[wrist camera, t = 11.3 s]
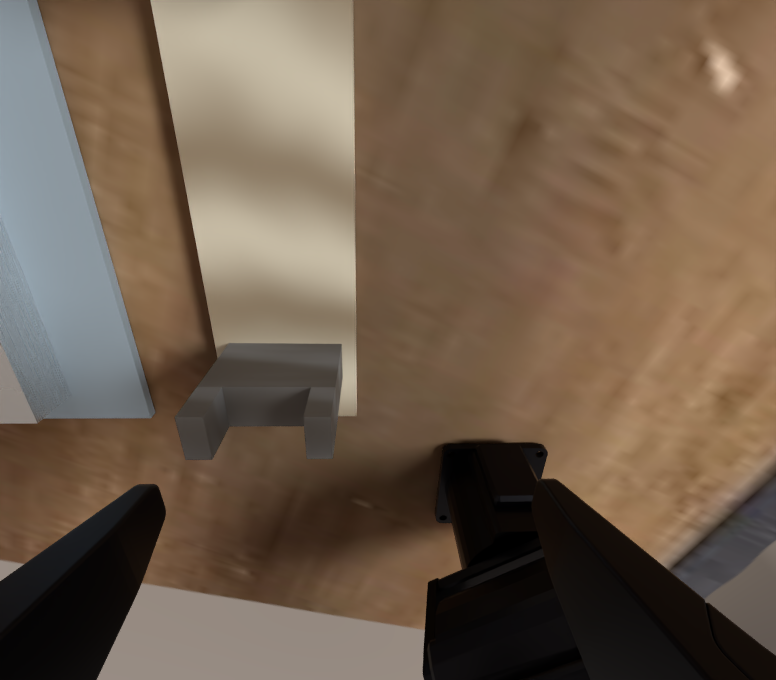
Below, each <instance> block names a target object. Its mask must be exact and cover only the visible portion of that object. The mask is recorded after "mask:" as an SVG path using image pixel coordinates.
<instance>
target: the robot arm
mask: <svg viewBox="0 0 776 680" xmlns="http://www.w3.org/2000/svg"><path fill="white" fill-rule="evenodd" d="M539 451H540V452H539ZM449 452H453V453H451V454H448V453H449ZM537 452H539V453H537ZM547 455H548V452H547V450H546V448H545V447H544V445H542V444H449V445H446V446H445V447H444V448H443V450H442V456H441V465H440V474H439V482H438V491H437V500H436V508H435V516H436V520H437V522H439V523H452V526H453V530H454V535H455V540H456V544H457V549H458V553H459V558H460V563H461V567H462V570H460V571H457V572H455V573H453V574H450V575H448V576H446V577H444V578H441V579H438V578H436V579H434V580H432V581H429V582H428V591H427V606H426V622H425V638H424V653H423V654H424V655H423V657H424V658H423V677H424V680H776V655H774V654H773V653H772V652H770V651H769V650H768V649H766V648H765V647H764V646H762V645H761V644H759V643H758V642H757V641H756V640H755V639H753V638H752V637H751V636H749V635H748V634H747V633H746V632H744V631H743V630H742V629H741V628H739V627H738V626H737V625H736V624H734V623H733V622H732V621H731V620H729V619H728V618H727V617H726V616H724V615H723V614H722V613H721V612H719V611H718V610H717V609H716V608H715V607H713V606H712V605H711V604H710V603H706V602H705V600H704V599H703V598H702V597H701V596H700V595H698V594H697V593H696V592H695V591H693V590H692V589H691V588H690V587H689V586H687V585H686V584H685V583H684V582H682V581H681V580H680V579H679V578H677V577H676V576H675V575H674V574H673V573H671V572H670V571H669V570H668V569H666V568H665V567H664V566H663V565H661V564H660V563H659V562H658V561H657V560H655V559H654V558H653V557H652V556H650V555H649V554H648V553H647V552H645V551H644V550H643V549H642V548H641V547H639V546H638V545H637V544H636V543H634V542H633V541H632V540H631V539H629V538H628V537H627V536H626V535H625V534H623V533H622V532H621V531H620V530H618V529H617V528H616V527H615V526H613V525H612V524H611V523H610V522H609V521H607V520H606V519H605V518H604V517H602V516H601V515H600V514H599V513H597V512H596V511H595V510H594V509H593V508H591V507H590V506H589V505H588V504H586V503H585V502H584V501H583V500H581V499H580V498H579V497H578V496H577V495H575V494H574V493H573V492H572V491H570V490H569V489H568V488H567V487H565V486H564V485H563V484H562V483H561V482H559V481H558V480H556V479H541V477H542V473H543V469H544V466H545V462H546V458H547ZM165 515H166V509H165V505H164V502H163V499H162V496H161V493H160V490H159V487H158V486H157V485H155V484H139V485H136V486H134V487H133V488H131V489H130V490H129V491H127V492H126V493H124V494H123V495H122V496H120V497H119V498H117V499H116V500H114V501H113V502H112V503H110V504H109V505H107V506H106V507H105V508H103V509H102V510H100V511H99V512H97V513H96V514H95V515H93V516H92V517H90V518H89V519H88V520H86V521H85V522H83V523H82V524H81V525H79V526H78V527H76V528H75V529H73V530H72V531H71V532H69V533H68V534H66V535H65V536H64V537H62V538H61V539H59V540H58V541H57V542H55V543H54V544H52V545H51V546H49V547H48V548H47V549H45V550H44V551H42V552H41V553H40V554H38V555H37V556H35V557H34V558H33V559H31V560H30V561H28V562H27V563H25V564H24V565H23V566H21V567H20V568H18V569H17V570H16V571H14V572H13V573H11V574H10V575H9V576H7V577H6V578H4V579H3V580H2V581H0V680H97V678H98V676H99V673H100V671H101V669H102V667H103V665H104V663H105V661H106V659H107V656H108V654H109V652H110V650H111V648H112V646H113V644H114V642H115V640H116V637H117V635H118V633H119V631H120V629H121V627H122V625H123V623H124V621H125V618H126V616H127V614H128V612H129V610H130V608H131V606H132V604H133V601H134V599H135V597H136V595H137V593H138V590H139V588H140V585H141V583H142V581H143V578H144V575H145V573H146V570H147V567H148V564H149V562H150V559H151V556H152V553H153V550H154V548H155V545H156V542H157V539H158V537H159V534H160V531H161V528H162V525H163V523H164V520H165Z"/></svg>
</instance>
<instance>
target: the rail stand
mask: <svg viewBox="0 0 776 680" xmlns="http://www.w3.org/2000/svg"><path fill="white" fill-rule="evenodd" d="M151 6H152V11H153V16H154V22H155V27H156V33H157V38H158V43H159V49H160V54H161V59H162V65H163V70H164V75H165V81H166V86H167V91H168V97H169V102H170V107H171V113H172V118H173V123H174V129H175V134H176V139H177V145H178V150H179V155H180V161H181V166H182V171H183V177H184V182H185V187H186V193H187V198H188V203H189V209H190V214H191V219H192V225H193V230H194V235H195V241H196V246H197V251H198V257H199V262H200V267H201V273H202V278H203V283H204V289H205V294H206V299H207V305H208V310H209V315H210V321H211V326H212V331H213V337H214V342H215V347H216V353H217V358H218V359H217V360H216V361H215V363H214V364H213V366H212V367H211V368H210V370H209V371H208V372H207V374H206V375H205V377H204V378H203V379H202V381H201V382H200V383H199V385H198V386H197V387H196V389H195V390H194V392H193V393H192V394H191V396H190V397H189V398H188V400H187V401H186V403H185V404H184V405H183V407H182V408H181V409H180V411H179V412H178V413H177V415H176V416H175V421H176V425H177V429H178V432H179V436H180V440H181V444H182V448H183V451H184V455H185V459H186V460H212V459H213V457H214V455H215V453H216V451H217V449H218V448H219V446H220V444H221V442H222V440H223V438H224V436H225V434H226V432H227V430H228V428H229V426H304V430H305V442H306V454H307V459H333V453H334V444H335V436H336V428H337V420H338V416H356V413H357V361H356V244H355V128H354V12H353V0H151Z"/></svg>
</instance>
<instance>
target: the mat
mask: <svg viewBox="0 0 776 680" xmlns="http://www.w3.org/2000/svg"><path fill="white" fill-rule="evenodd" d="M0 214H1V217H2V219H3V222H4V224H5V227H6V230H7V232H8V235H9V237H10V240H11V242H12V245H13V247H14V250H15V252H16V255H17V258H18V260H19V263H20V265H21V268H22V270H23V273H24V275H25V278H26V280H27V283H28V285H29V288H30V291H31V293H32V296H33V298H34V301H35V303H36V306H37V308H38V311H39V313H40V316H41V318H42V321H43V324H44V326H45V329H46V331H47V334H48V336H49V339H50V341H51V344H52V346H53V349H54V351H55V354H56V357H57V359H58V362H59V364H60V367H61V369H62V372H63V374H64V377H65V379H66V382H67V384H68V387H69V390H70V392H71V396H70V397H69V398H68V399H67V400H65V401H64V402H63V403H62V404H60V405H59V406H58V407H57V408H56V409H54V410H53V411H52V412H51V413H50V414H48V415H47V416H46V417H45V418H152V416H153V415H154V414H155V410H154V406H153V403H152V399H151V396H150V393H149V389H148V386H147V382H146V379H145V375H144V372H143V368H142V365H141V361H140V358H139V354H138V351H137V347H136V344H135V340H134V337H133V333H132V330H131V326H130V323H129V320H128V316H127V313H126V309H125V306H124V302H123V299H122V295H121V292H120V288H119V285H118V281H117V278H116V274H115V271H114V267H113V264H112V260H111V257H110V253H109V250H108V246H107V243H106V240H105V236H104V233H103V229H102V226H101V222H100V219H99V215H98V212H97V208H96V205H95V201H94V198H93V194H92V191H91V187H90V184H89V180H88V177H87V173H86V170H85V167H84V163H83V160H82V156H81V153H80V149H79V146H78V142H77V139H76V135H75V132H74V128H73V125H72V121H71V118H70V114H69V111H68V107H67V104H66V100H65V97H64V94H63V90H62V87H61V83H60V80H59V76H58V73H57V69H56V66H55V62H54V59H53V55H52V52H51V48H50V45H49V41H48V38H47V34H46V31H45V27H44V24H43V20H42V17H41V14H40V10H39V7H38V3H37V0H0Z"/></svg>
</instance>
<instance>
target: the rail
mask: <svg viewBox="0 0 776 680" xmlns="http://www.w3.org/2000/svg"><path fill="white" fill-rule="evenodd" d="M70 396H71V392H70V390H69V387H68V384H67V382H66V379H65V377H64V374H63V372H62V369H61V367H60V364H59V362H58V359H57V357H56V354H55V351H54V349H53V346H52V344H51V341H50V339H49V336H48V334H47V331H46V329H45V326H44V324H43V321H42V318H41V316H40V313H39V311H38V308H37V306H36V303H35V301H34V298H33V296H32V293H31V291H30V288H29V285H28V283H27V280H26V278H25V275H24V273H23V270H22V268H21V265H20V263H19V260H18V258H17V255H16V252H15V250H14V247H13V245H12V242H11V240H10V237H9V235H8V232H7V230H6V227H5V224H4V222H3V219H2V217H1V214H0V424H10V423H39V422H40V421H41V420H42V419H43V418H45V417H46V416H47V415H48V414H50V413H51V412H52V411H53V410H54V409H56V408H57V407H58V406H59V405H60V404H62V403H63V402H64V401H65V400H67V399H68V398H69V397H70Z"/></svg>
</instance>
